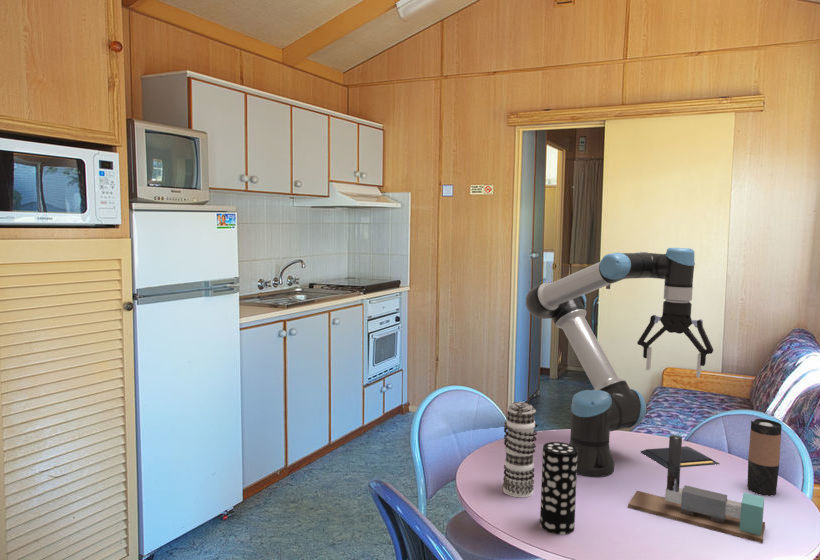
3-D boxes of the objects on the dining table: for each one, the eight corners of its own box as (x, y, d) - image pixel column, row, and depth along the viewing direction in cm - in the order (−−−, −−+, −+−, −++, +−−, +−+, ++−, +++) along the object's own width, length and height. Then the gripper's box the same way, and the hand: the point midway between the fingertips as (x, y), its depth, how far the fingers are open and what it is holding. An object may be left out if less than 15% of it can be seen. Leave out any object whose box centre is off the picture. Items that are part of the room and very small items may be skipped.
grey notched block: (680, 513, 153) (681, 491, 152) (683, 506, 157) (685, 484, 157) (723, 524, 147) (725, 502, 147) (726, 516, 152) (727, 494, 151)
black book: (690, 444, 203) (722, 461, 189) (690, 449, 204) (721, 466, 189) (638, 447, 200) (666, 464, 185) (637, 452, 200) (665, 470, 185)
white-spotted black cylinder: (535, 518, 151) (538, 442, 149) (567, 517, 152) (570, 441, 150) (545, 535, 143) (549, 454, 141) (579, 534, 143) (582, 454, 142)
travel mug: (781, 497, 166) (786, 428, 164) (751, 494, 167) (756, 425, 165) (770, 486, 173) (775, 419, 171) (742, 483, 175) (746, 417, 173)
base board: (627, 507, 158) (628, 503, 158) (636, 494, 166) (636, 490, 166) (762, 543, 141) (762, 539, 141) (764, 526, 149) (765, 522, 149)
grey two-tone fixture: (665, 500, 156) (668, 437, 154) (667, 496, 158) (670, 434, 157) (754, 522, 145) (759, 455, 143) (755, 517, 147) (760, 451, 146)
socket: (739, 530, 145) (741, 502, 144) (742, 519, 150) (743, 492, 150) (760, 535, 142) (762, 507, 142) (762, 524, 148) (764, 497, 147)
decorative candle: (504, 482, 173) (507, 398, 170) (536, 487, 169) (540, 401, 167) (498, 494, 164) (501, 406, 162) (532, 500, 161) (535, 410, 159)
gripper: (727, 303, 168) (721, 376, 170) (635, 296, 181) (631, 364, 183) (724, 306, 162) (719, 382, 163) (629, 298, 175) (625, 368, 177)
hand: (672, 372), depth 173 cm, fingers open, 13 cm apart
